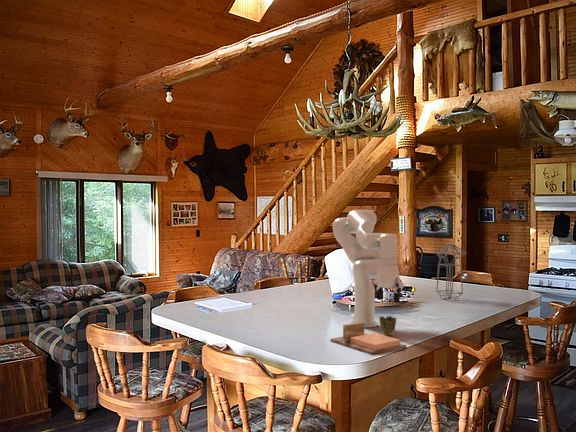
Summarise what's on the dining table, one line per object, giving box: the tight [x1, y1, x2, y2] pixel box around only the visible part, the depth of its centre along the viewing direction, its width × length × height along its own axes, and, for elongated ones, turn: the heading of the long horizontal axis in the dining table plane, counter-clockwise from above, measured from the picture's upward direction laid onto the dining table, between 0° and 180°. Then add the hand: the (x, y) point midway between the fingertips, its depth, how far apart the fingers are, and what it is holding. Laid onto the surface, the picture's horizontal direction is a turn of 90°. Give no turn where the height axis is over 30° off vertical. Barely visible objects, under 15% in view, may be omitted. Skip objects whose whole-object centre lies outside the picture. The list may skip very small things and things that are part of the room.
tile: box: [351, 332, 401, 350], centre depth 212 cm, size 14×14×2 cm
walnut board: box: [329, 322, 407, 356], centre depth 215 cm, size 25×19×7 cm
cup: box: [378, 315, 397, 337], centre depth 230 cm, size 8×7×8 cm
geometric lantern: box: [433, 243, 468, 300], centre depth 324 cm, size 16×16×35 cm
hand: (388, 300), depth 230 cm, fingers open, 9 cm apart
